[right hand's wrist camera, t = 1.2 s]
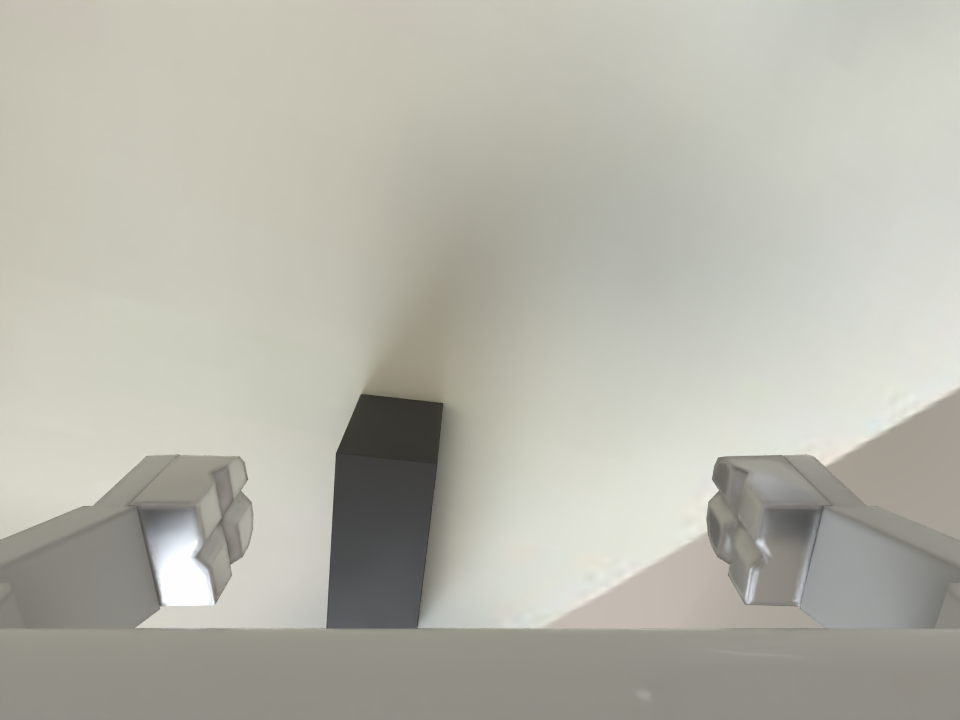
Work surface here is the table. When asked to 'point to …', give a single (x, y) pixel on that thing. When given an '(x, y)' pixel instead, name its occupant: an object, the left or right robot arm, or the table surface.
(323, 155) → the table surface
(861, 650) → the right robot arm
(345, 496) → the box
